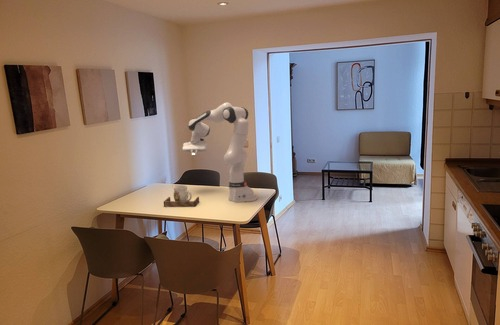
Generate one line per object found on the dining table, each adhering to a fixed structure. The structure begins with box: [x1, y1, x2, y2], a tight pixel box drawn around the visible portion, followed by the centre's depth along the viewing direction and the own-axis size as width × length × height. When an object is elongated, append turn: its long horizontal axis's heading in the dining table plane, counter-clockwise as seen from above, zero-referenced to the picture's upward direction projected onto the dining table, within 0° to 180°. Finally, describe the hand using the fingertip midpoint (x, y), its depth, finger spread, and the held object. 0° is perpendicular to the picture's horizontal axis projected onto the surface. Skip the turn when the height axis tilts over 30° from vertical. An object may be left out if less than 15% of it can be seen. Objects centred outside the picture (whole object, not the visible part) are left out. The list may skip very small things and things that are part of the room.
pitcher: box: [171, 184, 192, 201], centre depth 290 cm, size 11×18×14 cm, turn 60°
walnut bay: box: [163, 196, 200, 208], centre depth 291 cm, size 24×13×4 cm, turn 84°
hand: (193, 155), depth 308 cm, fingers closed
